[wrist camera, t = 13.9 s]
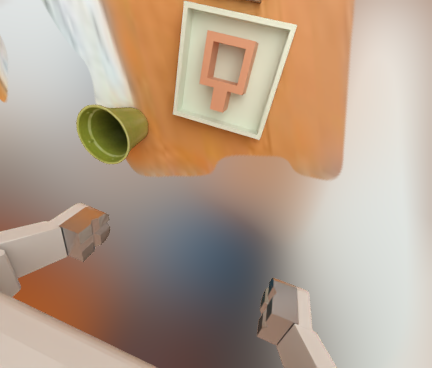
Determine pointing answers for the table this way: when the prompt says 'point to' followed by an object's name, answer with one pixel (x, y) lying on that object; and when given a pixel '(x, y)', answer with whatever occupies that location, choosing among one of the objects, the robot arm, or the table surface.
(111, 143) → the plant pot
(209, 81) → the orange frame with handle
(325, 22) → the table surface
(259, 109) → the tray
